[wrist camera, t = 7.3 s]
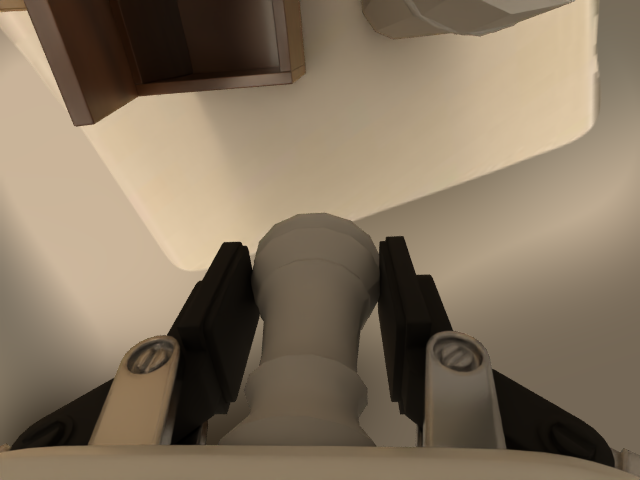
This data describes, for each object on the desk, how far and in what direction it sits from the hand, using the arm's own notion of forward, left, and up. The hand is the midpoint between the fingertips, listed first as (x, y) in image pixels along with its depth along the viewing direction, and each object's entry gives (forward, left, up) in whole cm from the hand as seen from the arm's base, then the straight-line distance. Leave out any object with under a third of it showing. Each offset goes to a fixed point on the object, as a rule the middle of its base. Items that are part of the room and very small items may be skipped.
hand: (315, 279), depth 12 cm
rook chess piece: (0, 0, -1) cm, 1 cm away
